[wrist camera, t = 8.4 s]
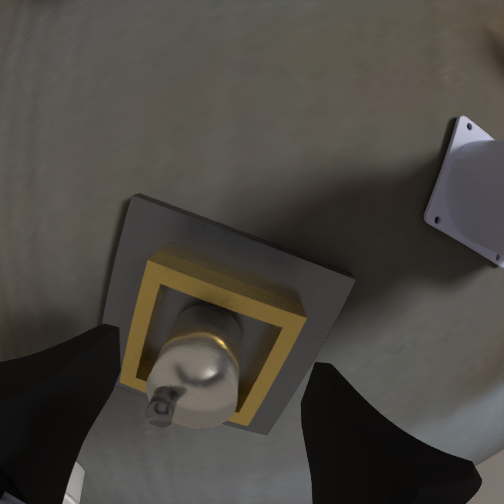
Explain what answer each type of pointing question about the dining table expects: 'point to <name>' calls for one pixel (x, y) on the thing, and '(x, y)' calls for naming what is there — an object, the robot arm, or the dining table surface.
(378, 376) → the dining table surface
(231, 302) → the fill port
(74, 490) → the soft serve ice cream cone
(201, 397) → the spout can
